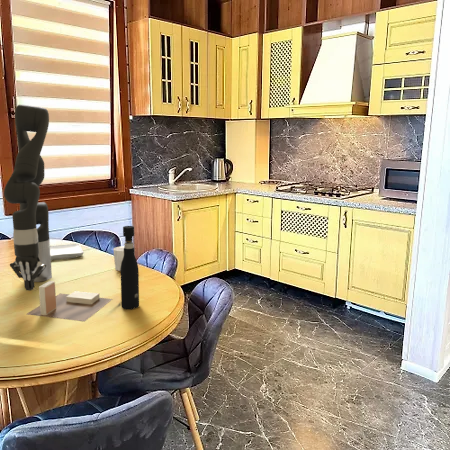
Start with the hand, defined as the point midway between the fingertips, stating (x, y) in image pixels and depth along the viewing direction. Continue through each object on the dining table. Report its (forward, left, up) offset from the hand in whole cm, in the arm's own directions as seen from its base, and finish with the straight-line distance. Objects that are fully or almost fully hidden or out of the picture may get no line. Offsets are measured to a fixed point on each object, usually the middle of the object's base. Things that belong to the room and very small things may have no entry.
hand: (29, 289), depth 143 cm
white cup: (+9, +54, -9) cm, 55 cm away
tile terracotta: (+7, 0, -7) cm, 10 cm away
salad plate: (-32, +67, -9) cm, 75 cm away
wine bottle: (+31, +14, -9) cm, 35 cm away
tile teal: (+8, +12, -6) cm, 16 cm away
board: (+12, +6, -9) cm, 16 cm away
